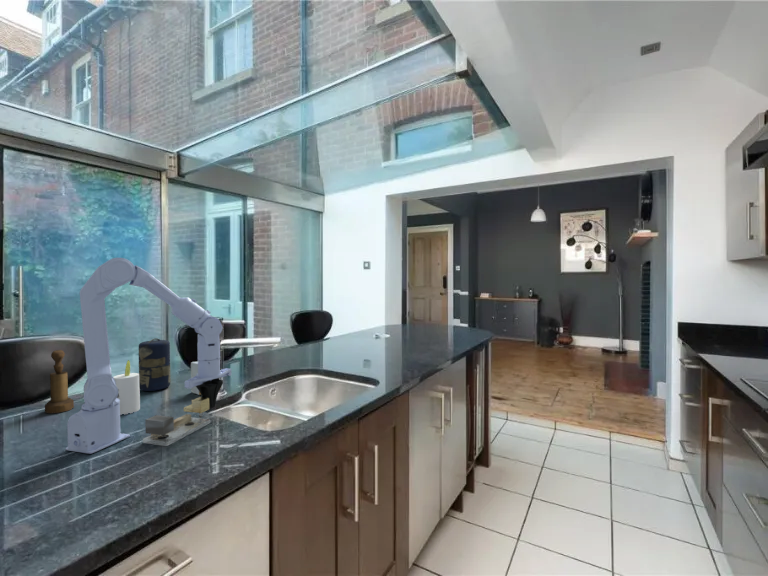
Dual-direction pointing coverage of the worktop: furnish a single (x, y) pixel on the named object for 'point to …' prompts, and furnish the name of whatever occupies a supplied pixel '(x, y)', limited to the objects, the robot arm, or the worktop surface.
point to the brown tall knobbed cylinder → (58, 387)
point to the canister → (154, 365)
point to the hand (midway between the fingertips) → (210, 407)
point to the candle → (128, 391)
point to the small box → (193, 373)
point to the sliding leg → (198, 406)
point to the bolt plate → (177, 432)
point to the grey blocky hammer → (163, 424)
